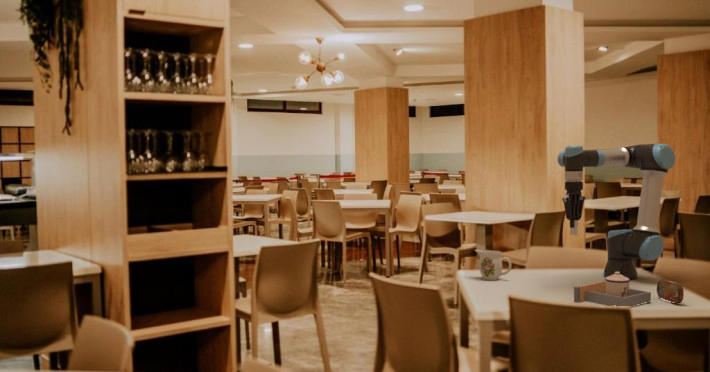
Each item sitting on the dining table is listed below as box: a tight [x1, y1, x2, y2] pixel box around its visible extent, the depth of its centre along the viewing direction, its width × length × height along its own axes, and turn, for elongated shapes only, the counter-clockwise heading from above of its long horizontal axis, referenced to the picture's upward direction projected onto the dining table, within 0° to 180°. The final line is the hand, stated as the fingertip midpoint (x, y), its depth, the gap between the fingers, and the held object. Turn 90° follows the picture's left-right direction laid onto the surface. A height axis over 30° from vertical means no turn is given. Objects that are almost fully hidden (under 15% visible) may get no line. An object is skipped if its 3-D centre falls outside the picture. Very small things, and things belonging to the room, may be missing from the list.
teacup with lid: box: [604, 272, 631, 297], centre depth 255 cm, size 12×9×12 cm
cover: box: [577, 280, 606, 303], centre depth 262 cm, size 19×1×6 cm, turn 126°
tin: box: [656, 279, 685, 304], centre depth 254 cm, size 15×3×8 cm, turn 5°
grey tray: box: [573, 286, 652, 307], centre depth 255 cm, size 23×19×6 cm
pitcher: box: [474, 249, 512, 281], centre depth 306 cm, size 11×18×14 cm, turn 62°
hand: (573, 234), depth 277 cm, fingers closed
